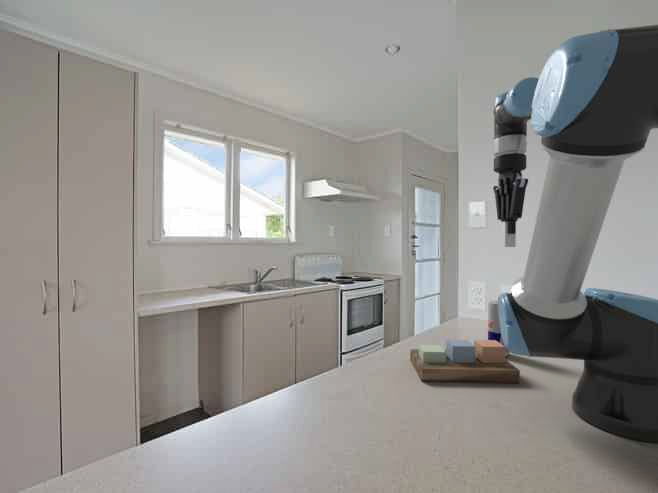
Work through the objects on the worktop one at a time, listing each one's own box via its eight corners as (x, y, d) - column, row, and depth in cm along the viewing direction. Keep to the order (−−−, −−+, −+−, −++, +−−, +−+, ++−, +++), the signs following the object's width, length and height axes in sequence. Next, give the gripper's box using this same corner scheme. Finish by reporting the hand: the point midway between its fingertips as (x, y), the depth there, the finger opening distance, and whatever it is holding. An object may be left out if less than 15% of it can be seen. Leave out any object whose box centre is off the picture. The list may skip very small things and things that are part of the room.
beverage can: (504, 351, 101) (505, 300, 101) (513, 357, 95) (513, 303, 95) (484, 350, 101) (485, 299, 101) (491, 357, 96) (492, 303, 96)
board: (519, 383, 79) (519, 370, 79) (421, 381, 80) (421, 368, 80) (493, 361, 93) (493, 350, 93) (410, 360, 94) (410, 349, 94)
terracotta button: (505, 363, 83) (505, 346, 83) (482, 363, 83) (482, 346, 83) (495, 355, 88) (495, 340, 88) (473, 355, 89) (474, 339, 88)
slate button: (475, 362, 83) (475, 346, 83) (452, 362, 84) (452, 346, 83) (467, 355, 89) (467, 339, 89) (446, 355, 89) (446, 339, 89)
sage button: (445, 368, 84) (445, 352, 84) (423, 368, 84) (423, 351, 84) (439, 360, 89) (439, 345, 89) (418, 360, 89) (418, 344, 89)
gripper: (539, 149, 83) (538, 247, 83) (511, 161, 96) (510, 246, 96) (508, 149, 83) (507, 247, 83) (484, 161, 96) (483, 246, 96)
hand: (508, 246), depth 90 cm, fingers closed
